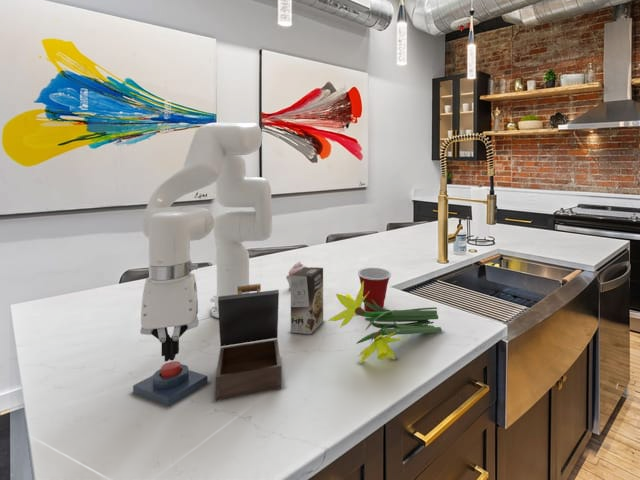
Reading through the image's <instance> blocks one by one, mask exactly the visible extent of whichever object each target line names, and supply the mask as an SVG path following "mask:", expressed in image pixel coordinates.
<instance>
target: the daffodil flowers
mask: <svg viewBox="0 0 640 480" xmlns="http://www.w3.org/2000/svg"><path fill="white" fill-rule="evenodd" d="M363 288H364V281H363V282H362V284H361V283H360V288H359V291H358V292H357V295H356V298H355V299H354V298H353V297H352V295H351V294H350V293H347V294H345V295H343V294H339V293H335V294H336V298H337V300H338V301H339V303H340V305H342V306H343V307H344V308H346V309H344V310H342V311H341V312H339V313H337V314H336V315H334V316H332V317H331V318H329V319H328V320H327V322H337V321H341V320H343V321H342V322H341V324H340V326H339V329H341V328H342V327H344V326H346V325H348V324H349V322H350V321H351V320H352V319H353V317H354V316H355V317H359V316H360V317H364V320H365V321H366V322H369V324H368V325H367V327H366V328H365V331H367V330H368V329H369V328H370V327H371V326H372V327H374V328H378V329H379V330H378V331H374V332H372V333H368V334H367V335H365V336H364V337H362V338H361V339H359V340H358V341H357V342H356V344H362V343H364V342H366V341H370V342H371V344H369V346H367V347H365V348H364V349H362V350H361V351H360V353H359V354H358V356H357V358H359V357H360V356H361V358H360V364H362V363H363V362H364V361H366V360H367V359H368V358H369V357H370V356H371V355H372V354H374V353H375V352H376V351H377V359H378V360H379V361H382V360H383V361H384V360H386V359H388V357H389V358H390V359H392V360H396V357H395V354H394V352H393V350H392V348H391V346H390V344H393V343H395V342H401V341H403V342H404V341H405V342H406V341H408V340H409V338H400V337H393V336H399V335H401V336H402V335H416V334H417V335H418V334H434V333H435V334H436V333H442V328H441V326H435V325H433V324H434V323H435V321H432V320H439V314H438V307H437V306H435V307H434V306H433V307H420V308H410V309H409V308H408V309H393V310H392V309H391V310H390V309H387V308H383V309H382V308H381V307H380V306H378V305H377V304H376V303H375V302H374V301H373V300H372V301H373V302H374V304H375V305H376V306H377V307H376V306H374V305H372V304H370V303H368V302H366V301H364V299H365V297H366V296H367V295H366V296H364V297H363ZM368 293H369V292H368ZM362 303H363V304H364V303H365V304H366V305H367V306H369V307H370V308H371V309H373V310H375V311H378V312H369V311H366V310H364V309H363V308H362Z"/></svg>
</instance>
